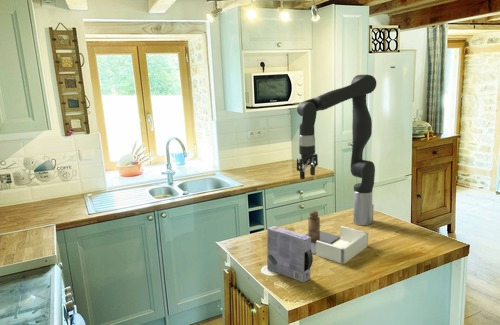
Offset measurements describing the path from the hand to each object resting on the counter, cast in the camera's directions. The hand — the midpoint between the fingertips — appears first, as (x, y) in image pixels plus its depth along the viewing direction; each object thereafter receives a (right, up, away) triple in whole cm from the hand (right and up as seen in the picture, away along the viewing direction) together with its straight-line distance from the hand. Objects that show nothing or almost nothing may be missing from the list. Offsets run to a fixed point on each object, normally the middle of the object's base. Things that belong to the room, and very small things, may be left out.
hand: (307, 177), depth 181 cm
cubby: (+12, -32, -17) cm, 38 cm away
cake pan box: (-12, -37, -34) cm, 52 cm away
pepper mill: (+2, -29, -8) cm, 30 cm away
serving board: (+2, -30, -8) cm, 31 cm away
